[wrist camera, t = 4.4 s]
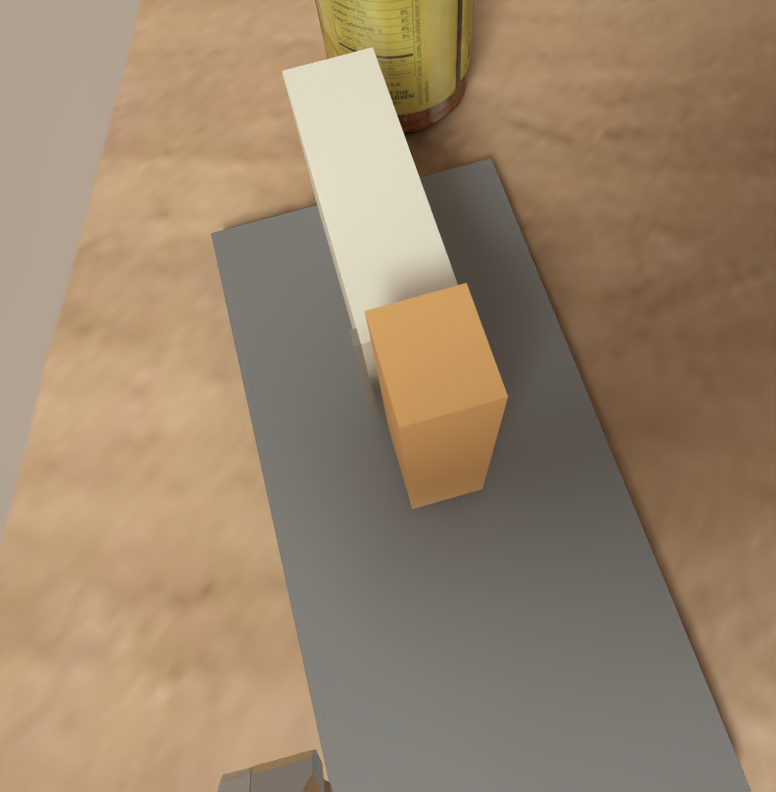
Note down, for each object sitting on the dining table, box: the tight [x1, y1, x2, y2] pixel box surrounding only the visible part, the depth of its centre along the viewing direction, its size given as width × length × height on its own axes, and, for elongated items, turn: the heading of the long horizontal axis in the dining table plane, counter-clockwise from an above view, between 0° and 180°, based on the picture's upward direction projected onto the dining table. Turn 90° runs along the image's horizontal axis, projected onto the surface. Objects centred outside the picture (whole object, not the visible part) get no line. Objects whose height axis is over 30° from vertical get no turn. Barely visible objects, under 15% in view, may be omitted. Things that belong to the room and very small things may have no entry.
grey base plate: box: [211, 47, 751, 792], centre depth 22 cm, size 12×24×8 cm, turn 16°
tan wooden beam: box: [365, 283, 508, 509], centre depth 20 cm, size 2×3×9 cm
